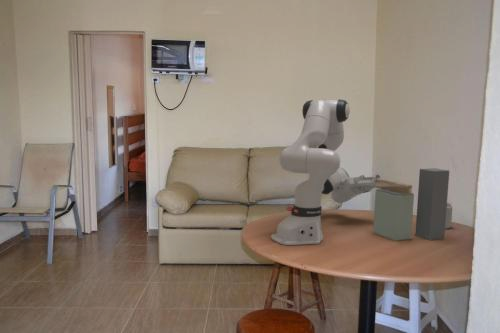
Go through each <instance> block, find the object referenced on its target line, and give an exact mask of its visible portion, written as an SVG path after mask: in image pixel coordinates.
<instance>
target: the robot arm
mask: <svg viewBox="0 0 500 333" xmlns="http://www.w3.org/2000/svg"><path fill="white" fill-rule="evenodd" d="M301 112H302V117H303V119H304V122H303V126H302V130H301V133H300V135H299V137H298V138H297V140H295V142H293V143H292V144H291V145H289V146H287V147H285V148H284V149H282V151H281V153H280V155H279V165H280V167H281V168H282V170H284V171H285V172H289V173H295V174H308V175H309V177H308V179H307V180H304V181H302V182H299V184H297V185H296V187H295V190H294V205H293V206H290V205H287V207H286V211H288V212H290V214H289V215H288V216H286V217H285V218H284V219H283V220H282V221H281V222H279V223H278V224H277V228H276V233H274V234H271V235H270V236H271V237H270V238H271V240H272V241H274V242H275V243H278V244H281V245H283V246H297V245H301V246H302V245H312V244H313V245H317V244H321V242H322V241H323V240H324V235H323V231H322V223H321V222H322V221H321V220H322V219H321V218H322V210H323V208H322V204H321V203H322V195H329V194H330V193H331V199H332V200H333V201H334V202H335V203H338V204H343V203H346V202H348V201H349V202H350V200H352V199H353V198H356V197H358V196H360V195H362V194H366V193H370V192H372V189H376V188H375V183H376V179H382V178H381V174H379V173H378V174H376V175H374V176H373V175H371V176H365V175H359V176H353V177H350V176H349V174H348V172H347V171H346V170H345V169H344V167H343V168H342V167H340V166H341V158H340V156H339V154H338V152H337V149H338V148H340V146H341V145H342V144H343V142H344V139H345V138H344V137H345V130H344V122H346V121H347V120H348V119H349V115H350V113H351V112H350V106H349V103H348V102H347V101H346V100H344V99H326V98H324V99H323V98H321V99H315V100H313V99H311V100H307V101H306V102H305V103H304V104H303V105H302V111H301Z"/></svg>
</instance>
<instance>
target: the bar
mask: <svg viewBox="0 0 500 333" xmlns="http://www.w3.org/2000/svg"><path fill="white" fill-rule="evenodd" d="M374 189H384V190H388V191H392V192H396V193H400V194H404V195H412V193H413V185H412V184H406V183H402V182H397V181H392V180H388V179H384V178H381V179H376V183H375V188H374Z"/></svg>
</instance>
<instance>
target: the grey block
mask: <svg viewBox="0 0 500 333" xmlns="http://www.w3.org/2000/svg"><path fill="white" fill-rule="evenodd" d="M414 198H415V193H413V192H412V195H404V194H400V193H396V192H392V191H388V190H384V189H379V188H375V195H374V214H373V229H372V230H373V231H372V232H373V234H375V235H378V236H381V237H385V238H387V239H390V240H393V241H395V242H396V241H403V240H411V239H412V229H413V228H412V227H413V214H414Z"/></svg>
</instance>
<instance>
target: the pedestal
mask: <svg viewBox="0 0 500 333" xmlns="http://www.w3.org/2000/svg"><path fill="white" fill-rule="evenodd" d="M418 177H419V178H418V188H417V189H418V190H417V202H416V203H417V204H416V220H415V236H416V237H419V238H422V239H425V240H429V241H431V240H432V241H433V240H439V239H444V238H445V235H446V234H445V232H446V229H445V222H446V209H447V203H448V193H449V180H450V170H448V169H441V168H437V167H436V168H419V175H418Z"/></svg>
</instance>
